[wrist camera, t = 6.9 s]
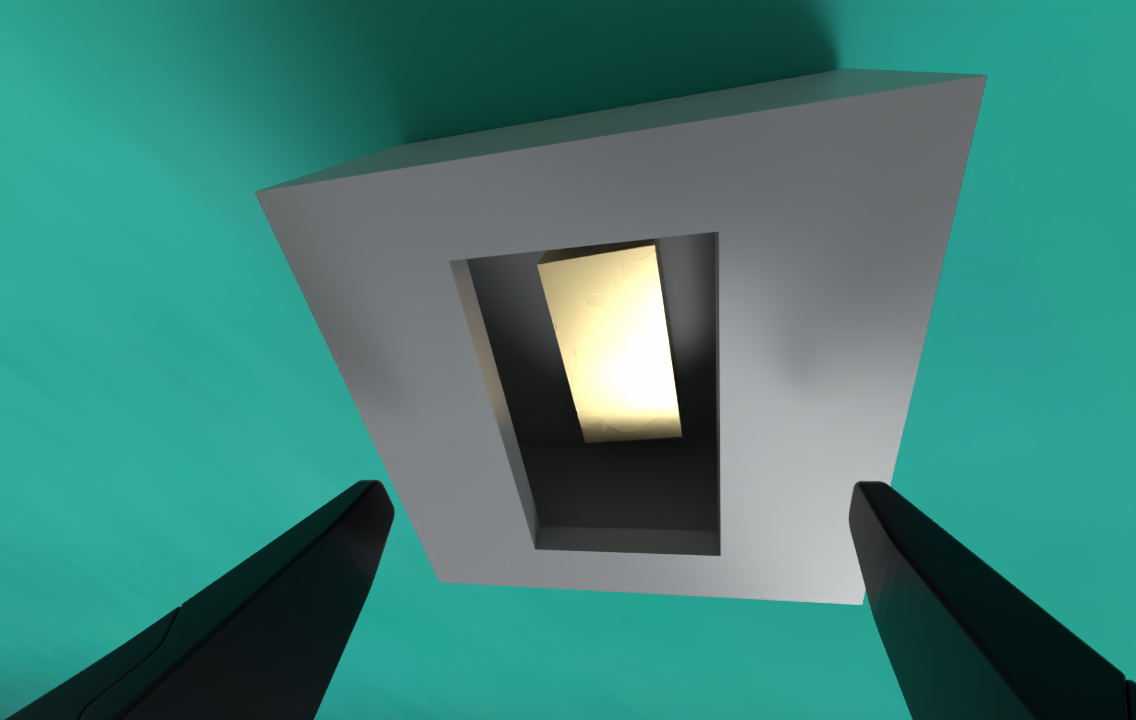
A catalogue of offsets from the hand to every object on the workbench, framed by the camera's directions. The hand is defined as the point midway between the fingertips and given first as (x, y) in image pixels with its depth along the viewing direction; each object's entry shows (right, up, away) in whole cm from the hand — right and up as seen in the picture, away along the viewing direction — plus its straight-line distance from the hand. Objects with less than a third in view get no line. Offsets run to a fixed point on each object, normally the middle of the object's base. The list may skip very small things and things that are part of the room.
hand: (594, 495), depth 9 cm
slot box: (+1, +4, +7) cm, 8 cm away
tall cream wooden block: (+1, +4, +6) cm, 8 cm away
